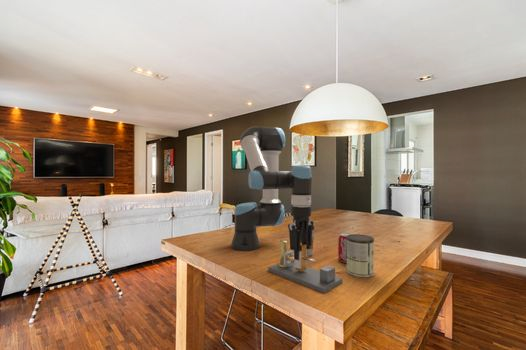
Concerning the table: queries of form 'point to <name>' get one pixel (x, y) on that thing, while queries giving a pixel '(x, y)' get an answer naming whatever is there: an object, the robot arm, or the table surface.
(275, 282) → the table surface
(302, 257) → the wooden handled lever
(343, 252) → the soda can
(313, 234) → the coffee cup
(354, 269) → the coffee can
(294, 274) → the board
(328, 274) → the block
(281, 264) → the brass round knobbed piece
